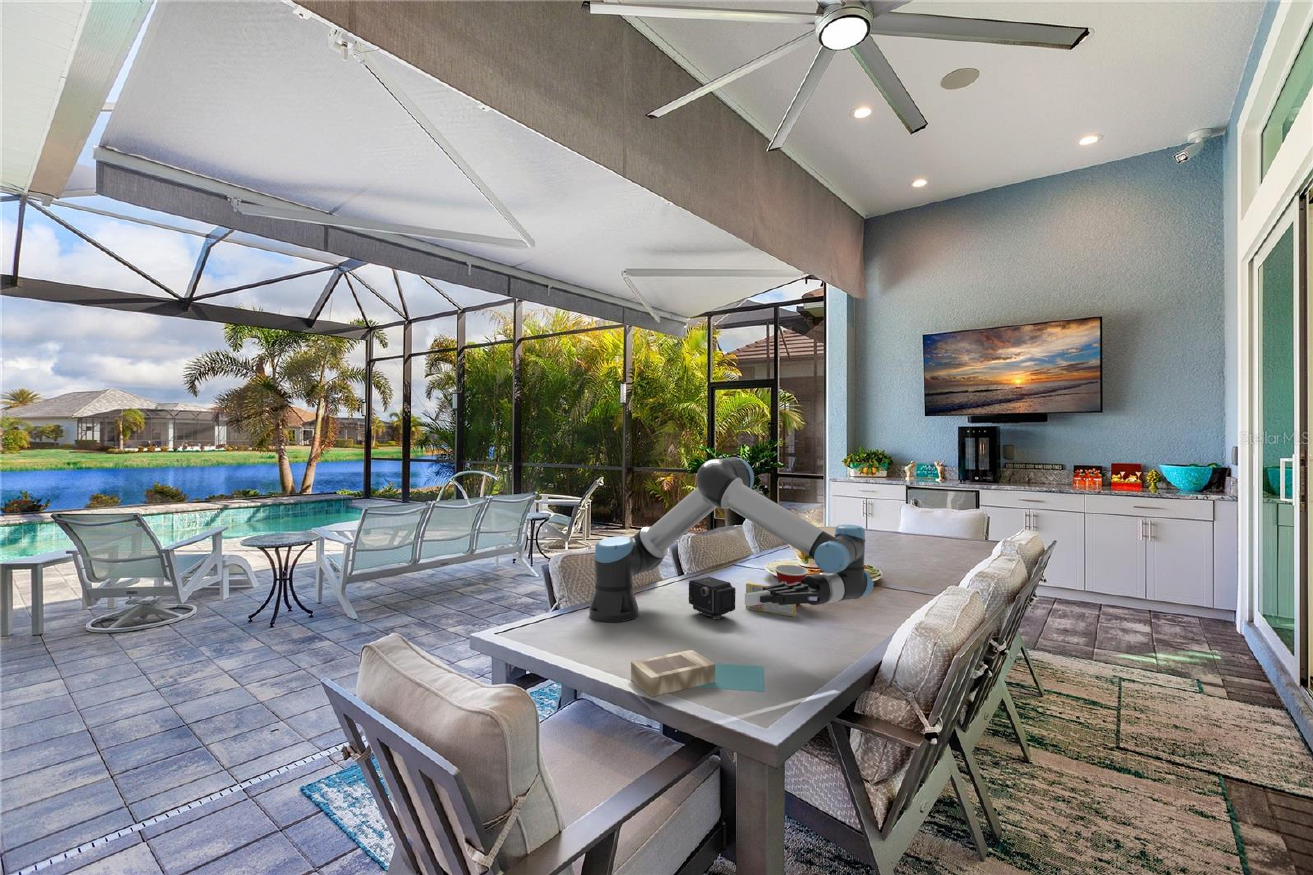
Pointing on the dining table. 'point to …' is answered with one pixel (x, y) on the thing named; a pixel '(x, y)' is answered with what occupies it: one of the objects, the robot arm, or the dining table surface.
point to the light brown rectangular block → (672, 672)
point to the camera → (712, 596)
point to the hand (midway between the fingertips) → (746, 599)
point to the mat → (737, 677)
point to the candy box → (770, 607)
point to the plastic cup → (790, 574)
